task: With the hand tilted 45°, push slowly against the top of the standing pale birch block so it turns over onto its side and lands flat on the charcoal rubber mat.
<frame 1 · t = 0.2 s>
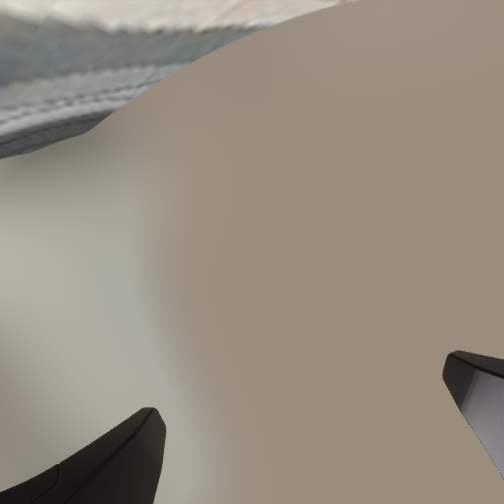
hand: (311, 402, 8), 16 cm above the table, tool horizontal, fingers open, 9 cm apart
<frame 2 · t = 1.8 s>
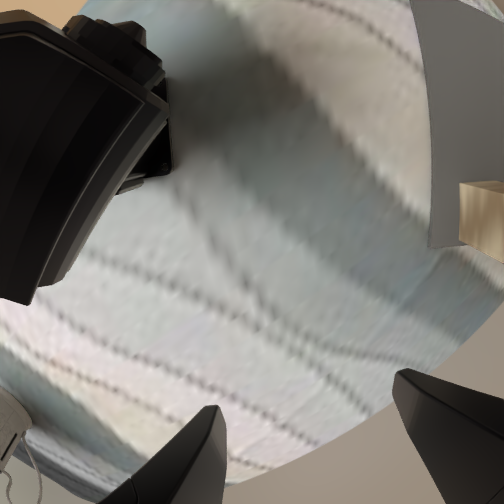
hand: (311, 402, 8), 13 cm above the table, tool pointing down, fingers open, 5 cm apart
birch block: (478, 209, 19), resting on charcoal rubber mat
glass holder: (23, 417, 27), on the table
charcoal rubber mat: (489, 117, 17), on the table
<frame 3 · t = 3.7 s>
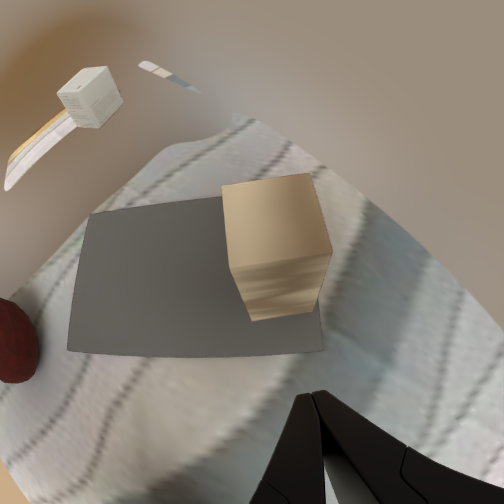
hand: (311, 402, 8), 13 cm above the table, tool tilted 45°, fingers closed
birch block: (277, 288, 23), resting on charcoal rubber mat
charcoal rubber mat: (180, 272, 25), on the table
product box: (100, 116, 37), on the table
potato: (24, 345, 23), on the table
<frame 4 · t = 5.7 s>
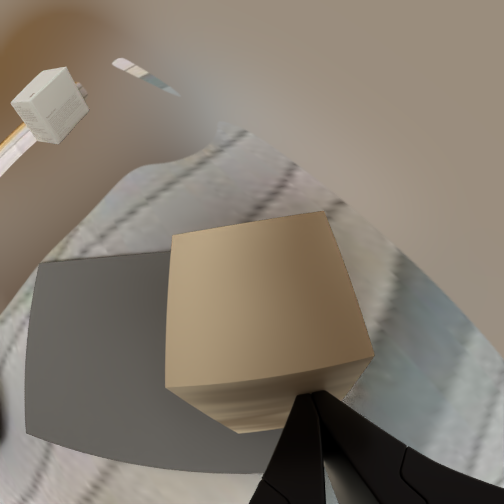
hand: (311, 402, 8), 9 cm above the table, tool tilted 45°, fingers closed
birch block: (276, 388, 15), point 1 cm above the table, tilted 15°, touching charcoal rubber mat
charcoal rubber mat: (146, 358, 17), on the table
product box: (63, 127, 29), on the table
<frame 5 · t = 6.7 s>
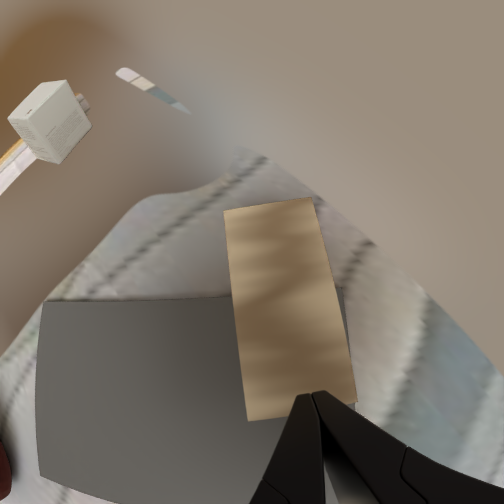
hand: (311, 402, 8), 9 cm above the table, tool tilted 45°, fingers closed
birch block: (300, 409, 13), point 3 cm above the table, tilted 90°, touching charcoal rubber mat
charcoal rubber mat: (166, 412, 15), on the table
product box: (64, 144, 28), on the table
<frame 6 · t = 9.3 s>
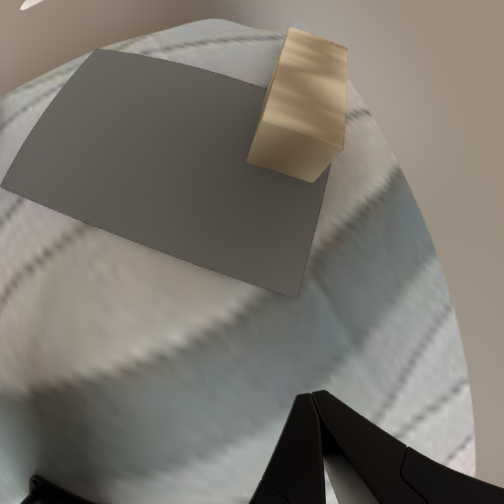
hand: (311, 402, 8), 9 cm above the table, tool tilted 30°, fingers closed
birch block: (290, 155, 17), point 3 cm above the table, tilted 90°, touching charcoal rubber mat
charcoal rubber mat: (168, 140, 18), on the table
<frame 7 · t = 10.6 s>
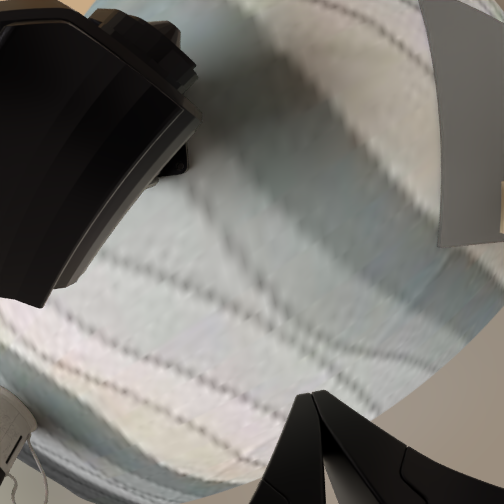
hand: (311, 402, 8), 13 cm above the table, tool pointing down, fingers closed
glass holder: (28, 419, 27), on the table
charcoal rubber mat: (496, 119, 17), on the table
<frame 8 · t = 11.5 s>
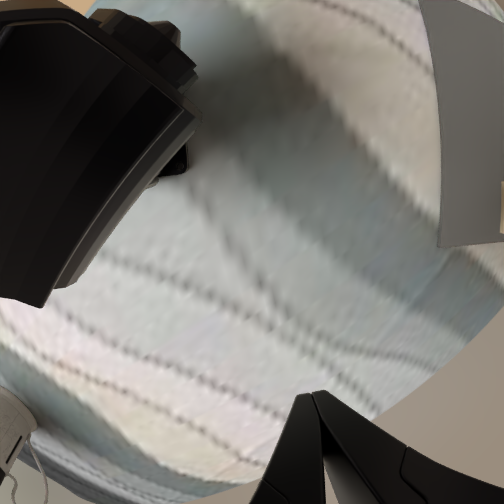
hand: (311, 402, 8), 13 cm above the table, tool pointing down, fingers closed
glass holder: (28, 419, 27), on the table
charcoal rubber mat: (496, 119, 17), on the table
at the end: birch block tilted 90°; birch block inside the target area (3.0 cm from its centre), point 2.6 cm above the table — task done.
